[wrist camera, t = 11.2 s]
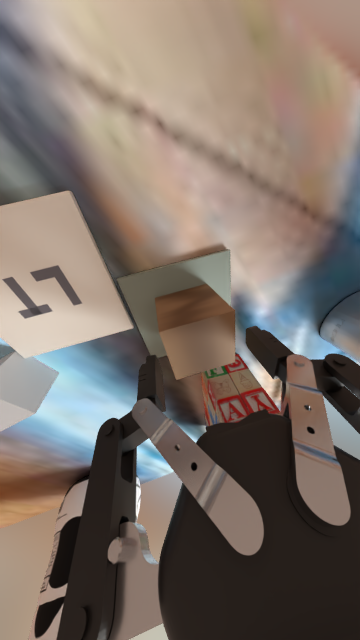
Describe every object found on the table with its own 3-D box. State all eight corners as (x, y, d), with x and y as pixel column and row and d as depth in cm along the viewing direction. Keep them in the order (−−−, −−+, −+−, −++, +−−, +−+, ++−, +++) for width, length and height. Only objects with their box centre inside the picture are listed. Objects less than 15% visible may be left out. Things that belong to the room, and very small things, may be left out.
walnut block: (206, 283, 16) (235, 310, 11) (211, 325, 19) (235, 362, 14) (154, 297, 16) (158, 332, 11) (168, 338, 19) (176, 379, 14)
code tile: (72, 191, 11) (68, 190, 10) (133, 325, 17) (133, 328, 17) (-105, 232, 10) (-119, 232, 10) (28, 354, 17) (24, 358, 16)
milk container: (148, 475, 45) (149, 601, 30) (89, 494, 44) (59, 635, 29) (128, 456, 35) (115, 626, 20) (51, 479, 34) (-23, 679, 19)
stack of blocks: (231, 418, 35) (266, 496, 25) (205, 425, 35) (230, 509, 25) (238, 352, 24) (309, 449, 13) (199, 361, 23) (242, 470, 13)
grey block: (19, 347, 16) (-24, 389, 12) (59, 372, 19) (35, 413, 15) (-16, 368, 17) (-69, 414, 13) (28, 389, 20) (-4, 433, 15)
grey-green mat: (227, 249, 15) (230, 250, 14) (229, 334, 21) (231, 336, 21) (117, 277, 14) (116, 279, 14) (152, 356, 20) (152, 359, 20)
